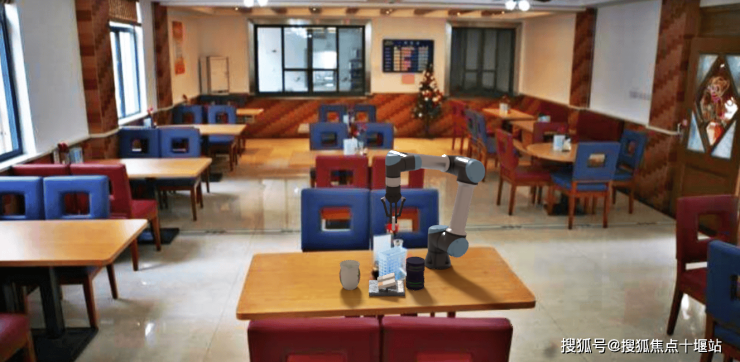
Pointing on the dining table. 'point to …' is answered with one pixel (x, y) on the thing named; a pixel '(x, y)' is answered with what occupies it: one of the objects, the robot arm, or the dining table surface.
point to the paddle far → (386, 277)
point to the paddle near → (386, 283)
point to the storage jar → (415, 273)
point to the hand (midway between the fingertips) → (393, 229)
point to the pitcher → (349, 274)
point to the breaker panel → (386, 289)
